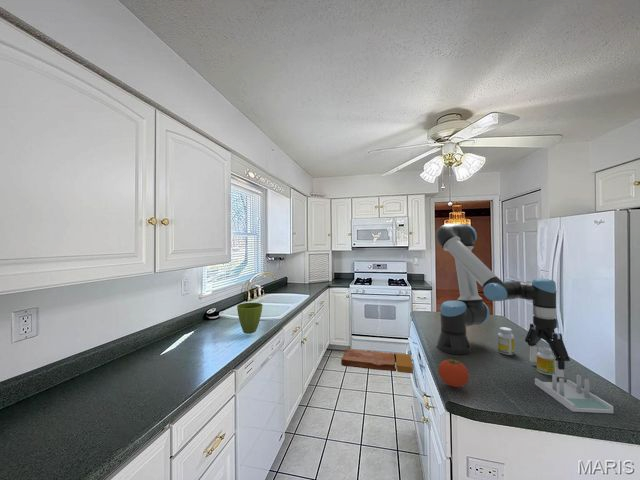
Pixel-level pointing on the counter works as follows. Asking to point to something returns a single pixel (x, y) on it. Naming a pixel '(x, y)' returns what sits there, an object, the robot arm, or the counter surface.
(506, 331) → the pill bottle
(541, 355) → the supplement bottle
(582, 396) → the tray
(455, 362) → the tomato
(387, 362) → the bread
